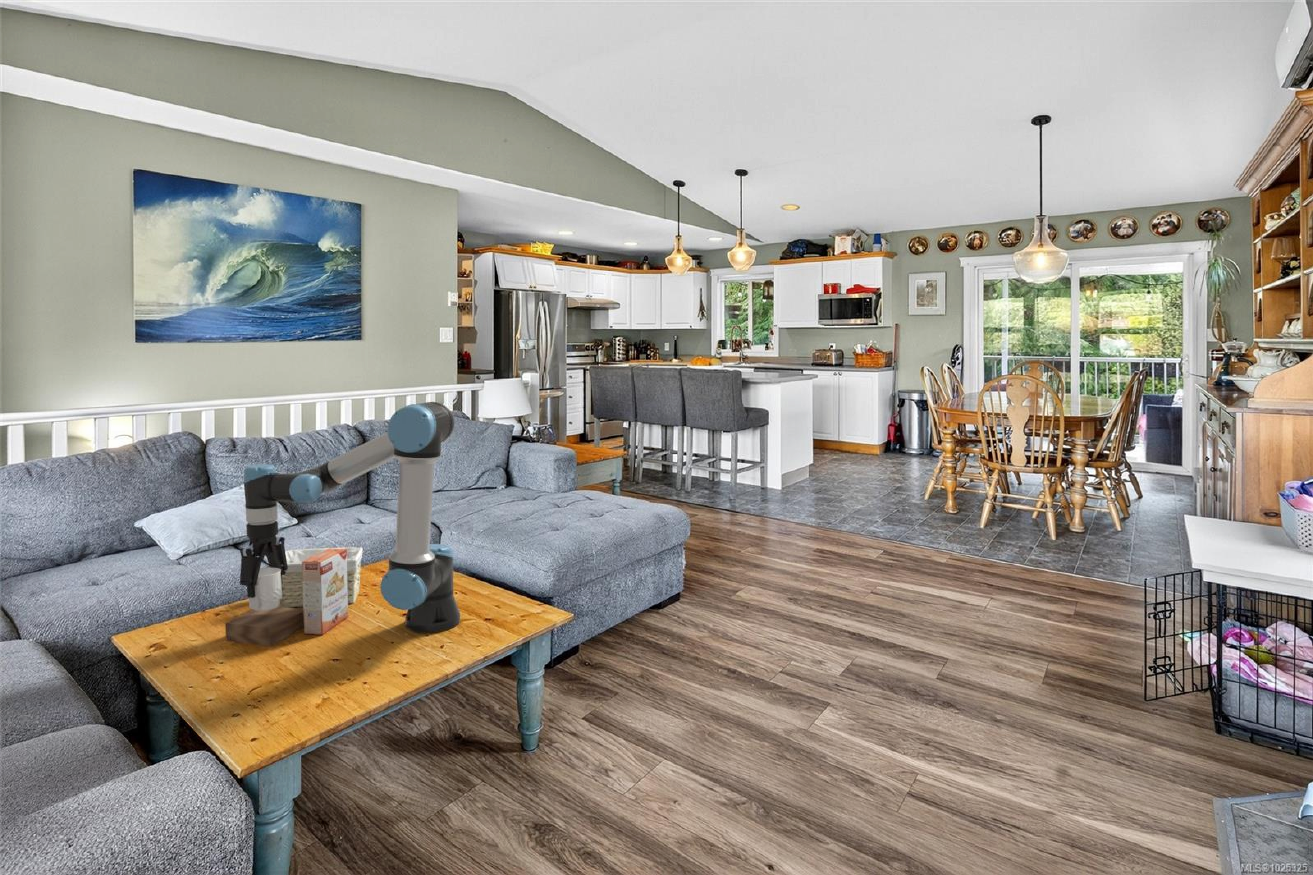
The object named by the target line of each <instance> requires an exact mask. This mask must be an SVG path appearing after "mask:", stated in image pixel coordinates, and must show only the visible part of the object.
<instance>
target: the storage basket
mask: <svg viewBox="0 0 1313 875" xmlns="http://www.w3.org/2000/svg"><path fill="white" fill-rule="evenodd" d="M330 548H332V549H346V550H347V591H348V604H354V603H355V602H356V599H357V597H358V595H359V592H360V585H361V581H360V579H361V572H362V569H361V568H362V567H361V565H362V564H361V562H362V557H363V550H364V549H363V547H330ZM330 548H325V547H324V548H302V549H301V548H300V549H291V550H286V549H285V554H286V560H287V566H288V569H287V570H286V573H285V575H282V598H281V599H280V605H279V607H286V608H299V607H303V582H302V561H304V560H306V559H308V558H310V557H312V556H315V555H317V554H319V553H321V552H323V551H325V550H327V549H330ZM282 566H283V565H282Z"/></svg>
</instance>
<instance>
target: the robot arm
mask: <svg viewBox="0 0 1313 875" xmlns="http://www.w3.org/2000/svg"><path fill="white" fill-rule="evenodd" d="M391 415H392V416H391V417H390V418H389V420H388V422H387V431H386V432H385V433H383V434H381V435H379V436H377V437H375V438H373V439H371V440H369V441H366V442H365V443H363V444H360V445H359V446H357V447H355V448H353V449H351V450H348V451H347V452H345V453H343V454H341V455H338V456H337V457H335V458H333V459H331V460H329V461H327V462H324V463H323V464H321V465H319V466H316V467H313V468H311V469H307V470H303V471H300V472H296V473H280V472H277V471H276V467H275V465H273V464H267V463H266V464H253V465H249V466H246V467H245V468H244V471H243V482H242V483H243V486H244V487H243V489H244V498H245V501H244V502H245V504H244V506H245V521H246V522H247V523H246V525H245V527H246V528H245V529H246V536H247V538H248V540H249V543H248V546H247V547H245V548H244V547H243V548H242V547H241V548H240V550H239V553H240V556H241V557H240V558H241V562H240V575H239V576H240V577H239V585H240V586H246V591H247V594H246V596H247V597H248V606H249V607H248V609H252V608H253V609H259V608H260V597H259V585H256V583H257V579H258V574H259V570H260V568H261V565H262V562H263V561H264V559H265V557H266V559H267V562H268V564H269V566H270V567H272V568H279V569H280V570H281V588H280V599H281V598H282V575H285V573H286V570H287V569H288V566H287V560H286V554H285V551H286V548H285V540H286V538H285V537H284V536H277V535H278V534H279V524H278V523H279V522H278V521H277V520H278V518H279V516H278V502H288V503H300V504H304V503H313V502H316V501H317V500H318V498H320V497H321V495H322V494H325V493H327V492H331V491H334V490H336V489H337V488H339V487H341V486H342V485H344V484H345V483H347V482H350V481H351V480H354V479H356V478H358V477H360V476H362V475H364V474H366V473H368V472H370V471H372V470H374V469H376V468H378V467H380V466H382V465H384V464H386V463H389V462H390V461H393V460H394V459H397V460H398V462H399V469H398V470H399V472H398V487H397V488H398V490H397V511H396V513H397V514H396V529H395V530H396V532H395V549H394V550H393V551H392V552H391V553H390V554H389V555H388V570H387V572H385V574H384V575H383V577H382V579H381V582H380V586H379V587H380V593H381V595H382V597H383V600H384V601H386V602H387V603H388V604H389V605H390V606H391V607H393V608H395V609H397V610H402V611H404V610H405V611H407V612H406V615H405V628H406V629H407V630H409V631H411V632H415V633H422V634H423V633H425V634H427V633H429V634H430V633H431V634H432V633H437V632H444V631H447V630H450V629H452V628H454V627H456V626H458V625H459V624H460V622H461V612H460V610H459V606H458V604H457V601H456V599H455V596H454V556H453V555H454V554H453V548H452V547H451V546H450V545H447V544H442V543H441V544H440V543H431V524H432V523H431V522H432V508H433V506H432V505H433V492H434V491H433V489H434V473H435V472H434V470H435V469H434V468H435V462H436V461H438V460H439V458H441V453H442V452H441V450H442V443H444V442H445V441H446V440H448V439H449V438H450V437H451V436H452V434H453V432H454V430H455V419H454V418H455V417H454V415H453V413H452V411H451V410H450V409H449V408H448V407H447V406H446V405H444V404H443V403H439V402H438V401H437V402H436V401H427V402H423V403H416V404H415V403H414V404H413V403H412V404H408V405H406V406H404V407H401V408H399V409H398V410H396V411H395V412H394V413H393V414H391ZM282 565H283V566H282ZM270 567H269V568H270ZM251 580H252V581H251ZM253 609H252V610H253Z"/></svg>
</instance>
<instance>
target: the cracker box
mask: <svg viewBox="0 0 1313 875" xmlns="http://www.w3.org/2000/svg"><path fill="white" fill-rule="evenodd" d="M332 548H333V547H330V549H327V550H325V551H323V552H321V553H319V554H317V555H315V556H312V557H310V558H308V559H306V560H304V561H302V582H303V608H302V609H303V614H304V629H303V633H304V635H319V636H321V635H322V636H323V635H324V634H326V633H327V632H329V631H330V630H331V629H334V627H336V626H337V625H338V624H340V623H342V622H343V621H344V620H346V619H347V618H349V603H348V591H347V550H346V549H332Z"/></svg>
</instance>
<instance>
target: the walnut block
mask: <svg viewBox="0 0 1313 875" xmlns="http://www.w3.org/2000/svg"><path fill="white" fill-rule="evenodd" d="M224 626H225V627H224V628H225V641H226V642H233V643H240V644H241V643H242V644H249V645H258V646H259V645H260V646H265V647H266V646H268V647H272V646H274V645H276V644H278V643H280V642H282V641H284V640H285V639H287V638H289V637H290V636H293V635H294V634H296V633H298V632H300V631H301V630H304V614H303V608H297V607H289V608H286V607H277V608H275V609H271V610H266V611H256V610H253V609H252V610H251V611H248V612H246V613H244V614H241V615H240V616H237V617H235V618H233V619H231V620H228V621H226V622H225V623H224Z"/></svg>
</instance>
